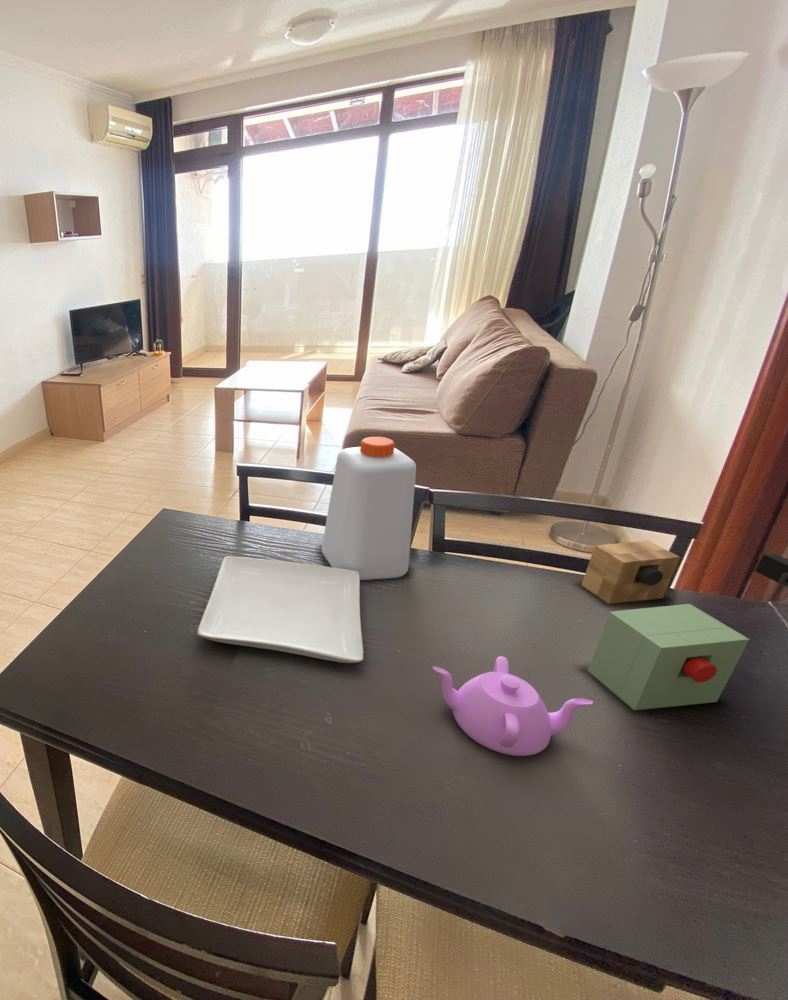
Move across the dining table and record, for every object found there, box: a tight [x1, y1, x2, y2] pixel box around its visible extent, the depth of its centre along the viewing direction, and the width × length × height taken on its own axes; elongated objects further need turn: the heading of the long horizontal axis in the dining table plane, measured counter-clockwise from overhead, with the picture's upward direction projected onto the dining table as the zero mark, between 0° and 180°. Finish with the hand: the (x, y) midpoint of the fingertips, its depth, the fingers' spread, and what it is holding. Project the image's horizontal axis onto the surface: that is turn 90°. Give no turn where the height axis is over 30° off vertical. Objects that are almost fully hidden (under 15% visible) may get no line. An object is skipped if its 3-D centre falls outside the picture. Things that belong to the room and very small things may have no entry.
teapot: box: [432, 656, 594, 757], centre depth 74 cm, size 12×14×9 cm
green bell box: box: [587, 603, 750, 711], centre depth 78 cm, size 12×8×12 cm, turn 93°
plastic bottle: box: [321, 436, 417, 581], centre depth 111 cm, size 15×15×28 cm
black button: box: [637, 567, 663, 586], centre depth 94 cm, size 3×2×3 cm, turn 93°
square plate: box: [196, 555, 364, 664], centre depth 102 cm, size 27×27×4 cm
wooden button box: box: [581, 539, 681, 605], centre depth 98 cm, size 10×6×10 cm, turn 93°
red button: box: [682, 658, 717, 682], centre depth 73 cm, size 3×2×3 cm, turn 93°
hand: (764, 562), depth 73 cm, fingers closed
